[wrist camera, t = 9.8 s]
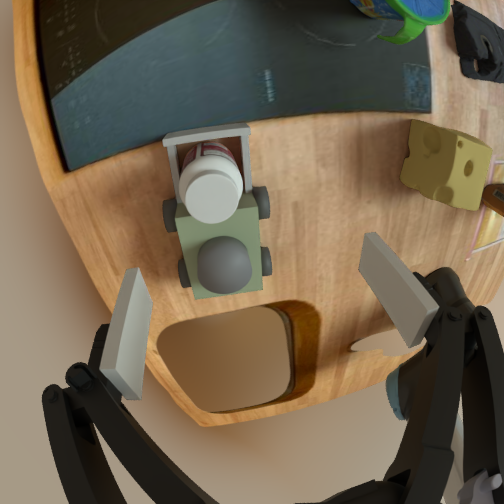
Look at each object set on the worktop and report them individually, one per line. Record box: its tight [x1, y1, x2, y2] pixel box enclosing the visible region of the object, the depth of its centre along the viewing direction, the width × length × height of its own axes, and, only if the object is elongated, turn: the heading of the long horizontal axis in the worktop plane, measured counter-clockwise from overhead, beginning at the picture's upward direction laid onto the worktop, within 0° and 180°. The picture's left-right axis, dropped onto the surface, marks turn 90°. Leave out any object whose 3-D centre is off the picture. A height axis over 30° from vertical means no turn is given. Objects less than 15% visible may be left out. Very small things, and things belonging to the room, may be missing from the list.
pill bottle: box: [179, 141, 243, 224], centre depth 28 cm, size 6×6×11 cm
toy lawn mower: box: [163, 123, 272, 300], centre depth 32 cm, size 21×12×9 cm, turn 4°
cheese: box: [399, 119, 493, 211], centre depth 31 cm, size 10×11×10 cm
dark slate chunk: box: [451, 0, 504, 83], centre depth 22 cm, size 15×22×5 cm
